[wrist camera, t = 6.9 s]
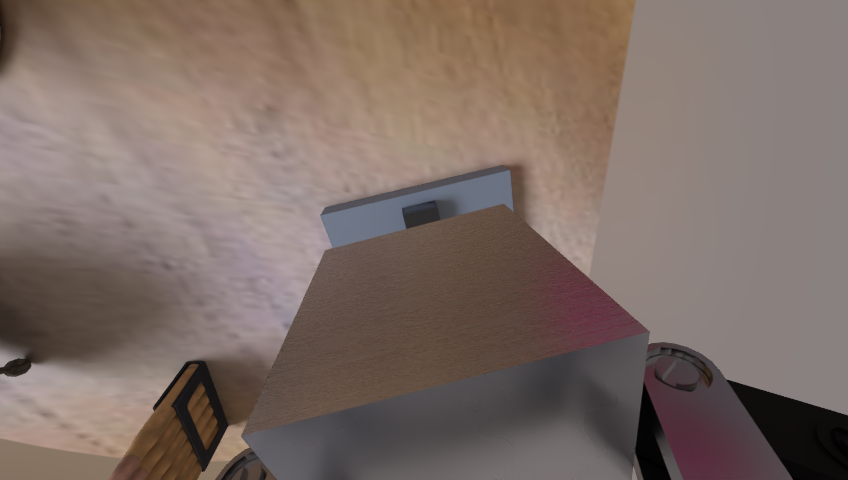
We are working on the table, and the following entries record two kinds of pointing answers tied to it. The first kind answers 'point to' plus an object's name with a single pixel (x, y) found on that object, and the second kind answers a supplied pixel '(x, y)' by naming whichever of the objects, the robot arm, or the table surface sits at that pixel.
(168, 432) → the ammunition clip
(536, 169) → the table surface
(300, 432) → the matte grey cube
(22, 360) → the tabletop clock
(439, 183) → the slate board
